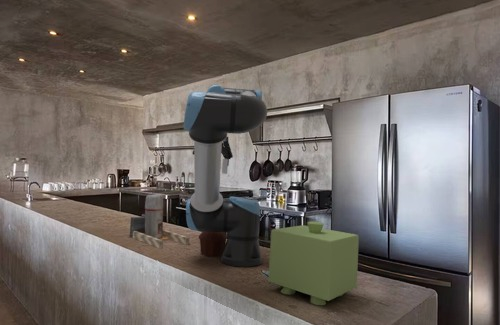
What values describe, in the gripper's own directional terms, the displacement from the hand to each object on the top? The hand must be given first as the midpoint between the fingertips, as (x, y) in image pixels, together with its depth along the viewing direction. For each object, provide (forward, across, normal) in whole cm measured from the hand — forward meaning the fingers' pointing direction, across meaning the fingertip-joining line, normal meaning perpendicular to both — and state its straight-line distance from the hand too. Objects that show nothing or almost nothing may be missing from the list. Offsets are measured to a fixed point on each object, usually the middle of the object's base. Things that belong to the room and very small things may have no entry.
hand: (212, 173), depth 147 cm
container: (+32, +9, +60) cm, 69 cm away
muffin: (+32, +6, +10) cm, 34 cm away
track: (+32, +11, -21) cm, 40 cm away
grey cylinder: (+31, +12, -26) cm, 42 cm away
